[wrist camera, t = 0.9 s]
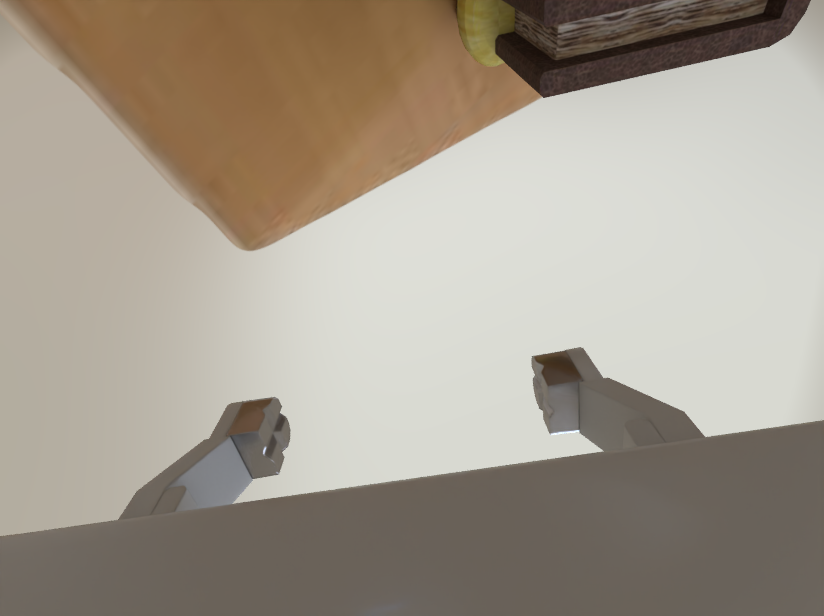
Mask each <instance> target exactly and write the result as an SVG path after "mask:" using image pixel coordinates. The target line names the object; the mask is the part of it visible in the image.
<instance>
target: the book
mask: <svg viewBox="0 0 824 616" xmlns="http://www.w3.org/2000/svg"><path fill="white" fill-rule="evenodd" d="M810 1H811V0H458V2H457V7H456V11H457V21H458V27H459V33H460V36H461V39H462V41H463V44H464V46H465V48H466V50H467V51H468V52H469V53H470V55H471V56H472V57H473V58H474V59H475V60H476V61H477V62H479V63H481V64H483V65H484V66H498V65H500V64H502V63H504V62H505V63H506V64H507V65H508V66H509V67H510V68H512V69H513V70H514V71H515V72H516V73H517V74H518V75H519V76H520V77H521V78H523V79H524V80H525V81H526V82H527V83H528V84H529V85H530V86H531V87H532V88H533V89H535V90H536V91H537V92H538V93H539V94H540V95H541V96H542V97H543V98H545V97H550V96H555V95H559V94H563V93H568V92H572V91H577V90H580V89H585V88H590V87H594V86H599V85H603V84H607V83H611V82H616V81H621V80H625V79H629V78H634V77H638V76H642V75H647V74H651V73H656V72H660V71H665V70H669V69H673V68H677V67H682V66H687V65H691V64H695V63H700V62H703V61H708V60H713V59H717V58H722V57H726V56H730V55H735V54H739V53H744V52H748V51H752V50H757V49H761V48H766V47H770V46H771V45H773V44H775V43H776V42H778V41H780V40H781V39H783V38H785V37H786V36H788V35H790V33H791V32H792V31H793V29H794V28H795V26H796V25H797V23H798V22H799V21H800V19H801V18H802V17H803V15H804V14H805V12H806V10H807V8H808V5H809V3H810Z"/></svg>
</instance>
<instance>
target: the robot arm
mask: <svg viewBox="0 0 824 616" xmlns="http://www.w3.org/2000/svg"><path fill="white" fill-rule="evenodd" d="M532 368H533V371H534V373H535V376H534V378H533V386H534V392H535V397H536V401H537V404H538V406H539V409H541V410H543V417H544V421H545V424H546V426H547V428H548V431H549V433H550V435H555V434H563V433H570V432H580V433H581V434H582V435H583V436H585V437H586V438H587V439H589V440H590V441H591V442H593V443H594V444H595V445H597V446H598V447H599V448H601V449H602V450H603V451H604V452H597V453H591V454H583V455H576V456H569V457H562V458H555V459H547V460H540V461H533V462H527V463H519V464H512V465H505V466H498V467H491V468H484V469H477V470H470V471H463V472H456V473H449V474H441V475H434V476H427V477H420V478H414V479H406V480H399V481H392V482H385V483H378V484H370V485H364V486H357V487H349V488H342V489H336V490H328V491H321V492H314V493H307V494H300V495H292V496H286V497H278V498H271V499H264V500H257V501H250V502H243V503H236V504H232V503H233V502H234V501H235V500H236V499H237V498H238V497H239V495H240V494H241V493H242V492H243V491H244V490H245V489H246V487H247V486H248V485H249V484H250V483H251V482H252V481H253V480H252V479H255V478H261V477H267V476H272V475H278V474H279V472H280V469H281V466H282V463H283V460H284V456H283V453H282V452H283V451H284V450H285V449H286V448H287V447H288V444H289V440H290V427H289V422H288V420H287V418H286V417H285V416H284V415H282V414H281V413H280V410H281V407H282V406H281V404H280V402H279V400H278V399H277V398H276V397H271V398H264V399H257V400H249V401H242V402H236V403H231V404H229V405H228V406H227V407H226V409H225V411H224V413H223V415H222V416H221V418H220V420H219V422H218V424H217V426H216V427H215V429H214V431H213V433H212V434H211V436H210V438H209V439H206V440H203V441H202V442H201V443H200V444H198V445H197V446H196V447H194V448H193V449H192V450H190V451H189V452H188V453H186V454H185V455H184V456H183V457H181V458H180V459H179V460H177V461H176V462H175V463H173V464H172V465H171V466H169V467H168V468H167V469H165V470H164V471H163V472H162V473H160V474H159V475H158V476H156V477H155V478H154V479H153V480H151V481H150V482H148V483H147V484H146V485H144V486H143V487H142V488H141V489H139V490H138V491H137V492H136V493H135V495H134V496H133V498H132V500H131V501H130V503H129V504H128V506H127V507H126V509H125V510H124V512H123V513H122V515H121V516H120V518H119V519H118V520H116V521H108V522H101V523H94V524H87V525H80V526H73V527H66V528H59V529H52V530H44V531H37V532H30V533H24V534H15V535H7V536H0V616H824V420H823V421H815V422H809V423H802V424H795V425H788V426H782V427H774V428H767V429H760V430H753V431H746V432H739V433H732V434H725V435H718V436H711V437H705V436H704V435H703V434H702V433H701V432H700V430H699V429H698V428H697V427H696V426H695V424H694V423H693V422H692V421H691V420H690V418H689V417H688V416H687V415H686V414H685V412H683V411H681V410H679V409H677V408H674V407H672V406H670V405H668V404H666V403H663V402H661V401H659V400H656V399H654V398H652V397H650V396H648V395H645V394H643V393H641V392H639V391H637V390H634V389H632V388H630V387H628V386H626V385H623V384H621V383H619V382H617V381H614V380H612V379H610V378H603V377H602V375H601V374H600V372H599V371H598V370H597V368H596V367H595V365H594V364H593V362H592V361H591V359H590V358H589V356H588V355H587V354H586V352H585V350H584V349H583V348H581V347H579V348H574V349H569V350H565V351H560V352H555V353H549V354H543V355H537V356H532Z"/></svg>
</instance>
